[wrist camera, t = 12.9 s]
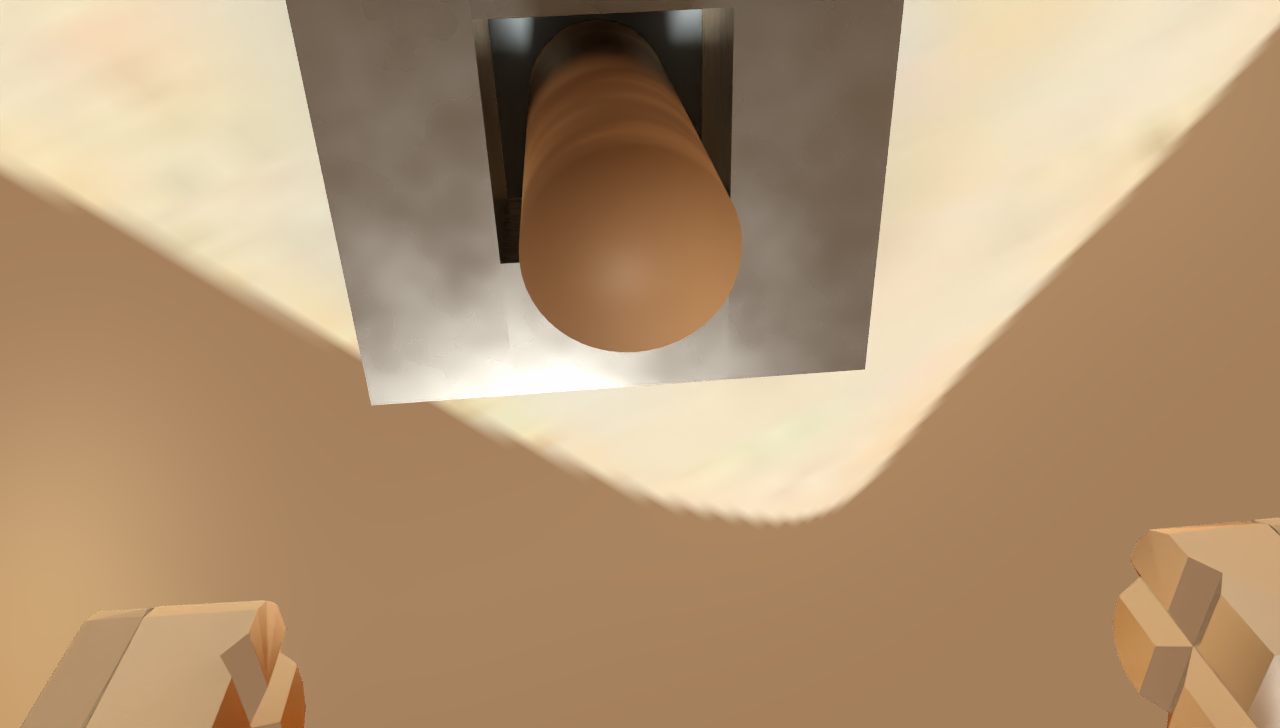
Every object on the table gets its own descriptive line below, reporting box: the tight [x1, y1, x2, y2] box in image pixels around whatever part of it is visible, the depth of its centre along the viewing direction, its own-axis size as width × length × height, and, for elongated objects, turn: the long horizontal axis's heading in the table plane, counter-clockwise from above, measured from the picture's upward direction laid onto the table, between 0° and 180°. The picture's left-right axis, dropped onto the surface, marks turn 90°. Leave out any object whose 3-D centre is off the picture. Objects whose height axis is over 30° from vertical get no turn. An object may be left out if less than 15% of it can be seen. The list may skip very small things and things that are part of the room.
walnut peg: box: [519, 20, 742, 352], centre depth 22 cm, size 4×4×12 cm
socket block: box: [286, 0, 904, 405], centre depth 25 cm, size 14×14×5 cm
